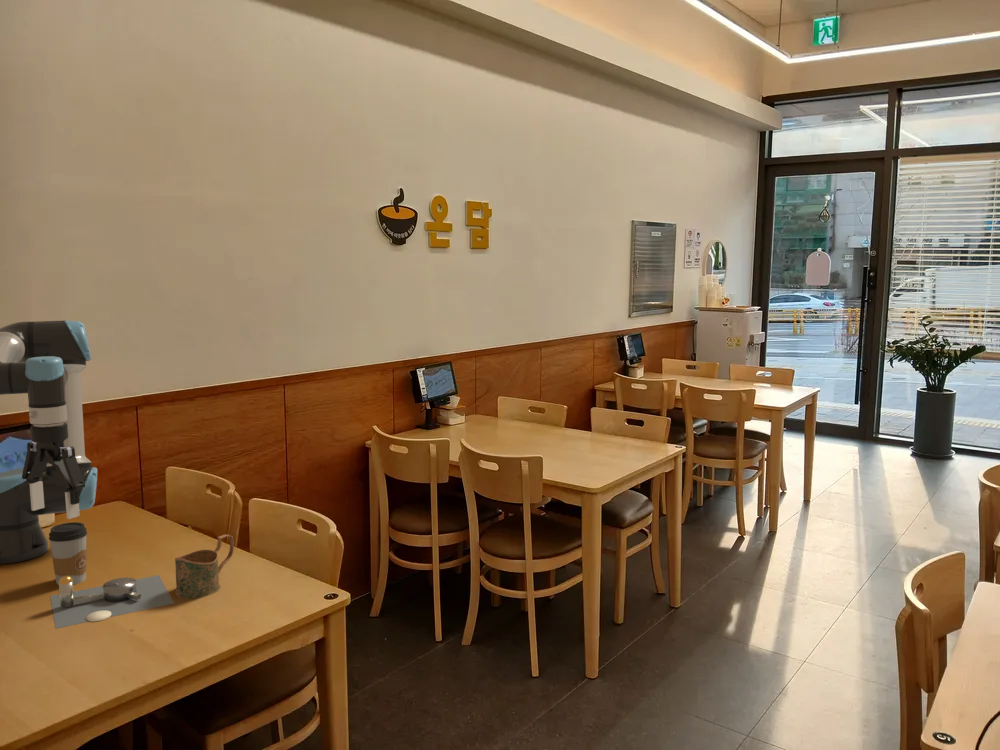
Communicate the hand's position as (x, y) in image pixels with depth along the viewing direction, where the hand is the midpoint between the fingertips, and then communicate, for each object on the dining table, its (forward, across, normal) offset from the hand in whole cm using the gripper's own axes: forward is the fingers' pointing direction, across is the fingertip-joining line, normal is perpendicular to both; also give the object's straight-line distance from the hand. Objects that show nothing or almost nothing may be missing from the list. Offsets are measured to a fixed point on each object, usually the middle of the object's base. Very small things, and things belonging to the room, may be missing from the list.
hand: (55, 513), depth 183 cm
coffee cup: (+21, -6, +6) cm, 23 cm away
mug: (+21, +27, +20) cm, 40 cm away
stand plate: (+21, +14, +3) cm, 25 cm away
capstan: (+20, +12, +2) cm, 23 cm away
